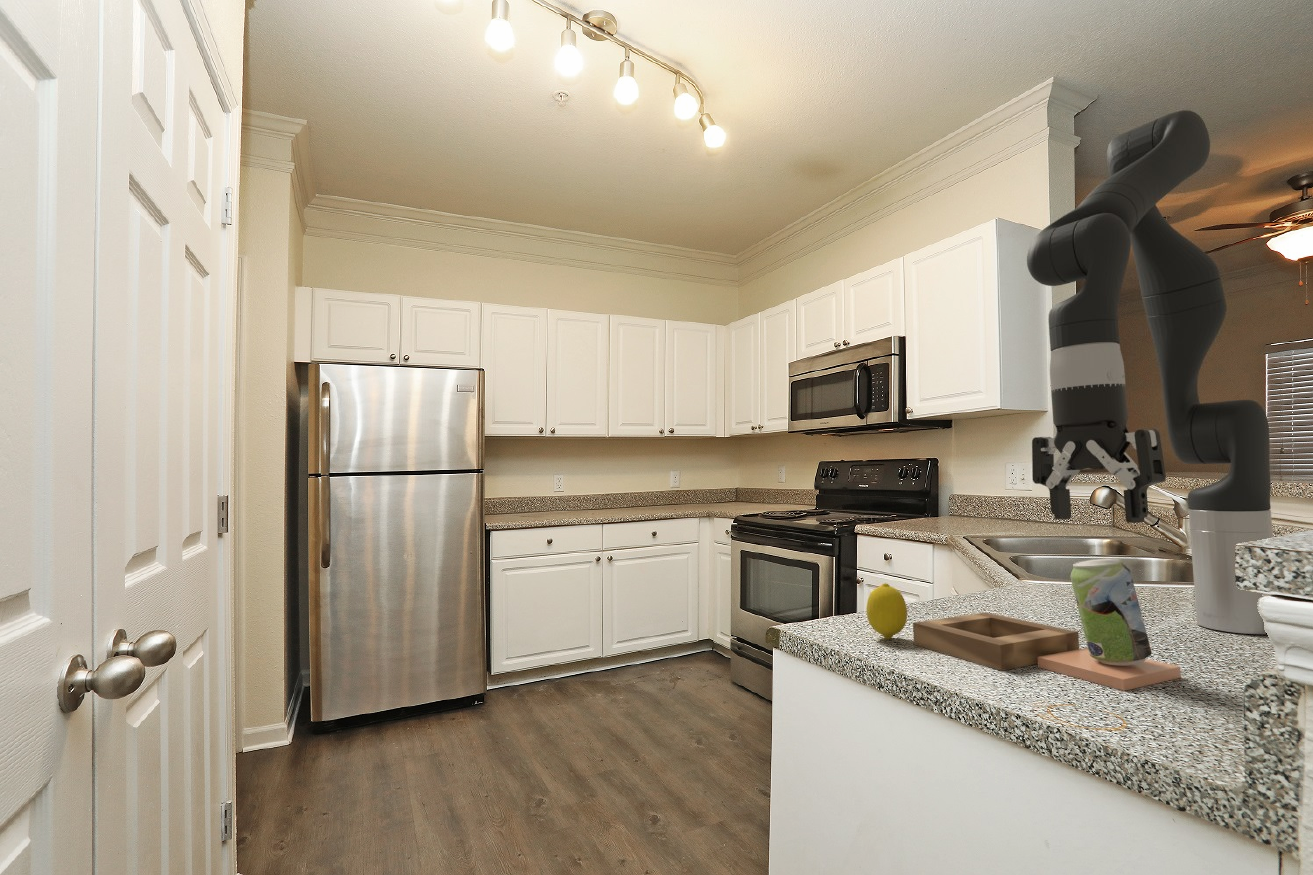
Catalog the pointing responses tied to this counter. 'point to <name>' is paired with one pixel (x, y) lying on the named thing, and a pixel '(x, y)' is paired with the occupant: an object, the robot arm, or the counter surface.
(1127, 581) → the beverage can
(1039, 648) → the board
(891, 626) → the lemon
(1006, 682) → the counter surface
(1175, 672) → the plate
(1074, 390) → the robot arm
